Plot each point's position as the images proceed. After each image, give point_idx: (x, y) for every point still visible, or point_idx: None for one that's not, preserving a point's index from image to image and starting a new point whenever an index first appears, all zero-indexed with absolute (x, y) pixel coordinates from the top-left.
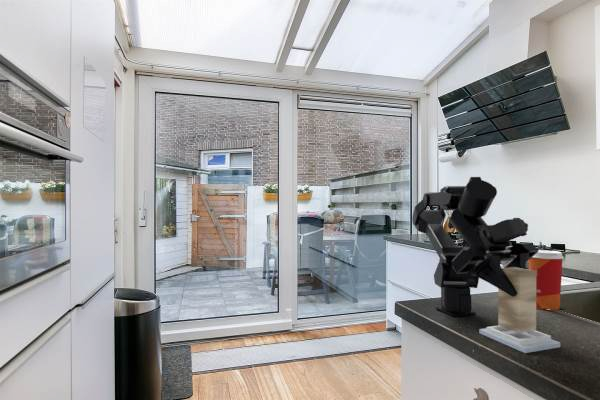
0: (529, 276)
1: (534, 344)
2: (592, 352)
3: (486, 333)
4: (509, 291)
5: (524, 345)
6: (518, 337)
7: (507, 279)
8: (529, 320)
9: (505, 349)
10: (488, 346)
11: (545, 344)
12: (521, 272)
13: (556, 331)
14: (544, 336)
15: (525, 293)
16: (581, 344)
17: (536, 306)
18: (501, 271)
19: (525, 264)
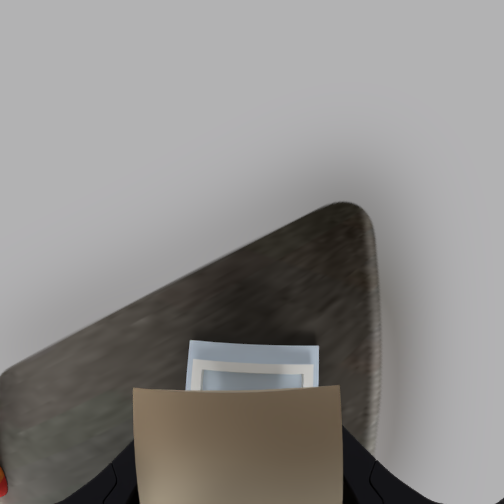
0: (222, 392)
1: (269, 357)
2: (157, 293)
3: None
4: None
5: (301, 361)
6: None
7: (347, 453)
8: (240, 390)
9: (341, 379)
10: (364, 405)
11: (240, 346)
12: (313, 395)
13: (93, 405)
14: (214, 364)
15: (264, 390)
16: (127, 330)
17: (5, 486)
18: (376, 495)
19: (60, 502)
